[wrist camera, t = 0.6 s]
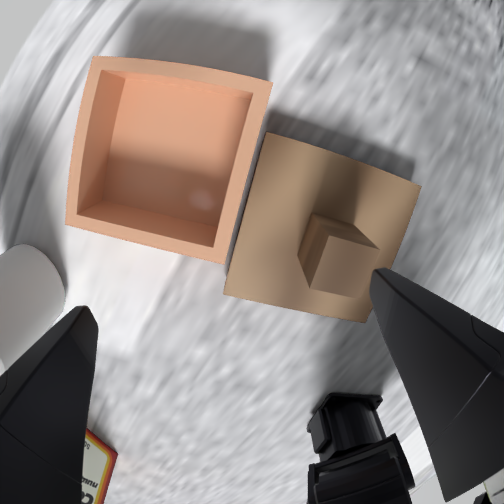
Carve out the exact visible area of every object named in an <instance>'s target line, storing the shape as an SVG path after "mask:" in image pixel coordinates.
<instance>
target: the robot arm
mask: <svg viewBox="0 0 504 504" xmlns="http://www.w3.org/2000/svg"><path fill="white" fill-rule="evenodd" d="M369 296H370V299H371V302H372V305H373V308H374V311H375V314H376V317H377V320H378V323H379V326H380V329H381V332H382V335H383V337H384V340H385V342H386V344H387V346H388V349H389V351H390V353H391V356H392V358H393V360H394V362H395V365H396V367H397V369H398V372H399V374H400V376H401V379H402V381H403V384H404V386H405V389H406V391H407V393H408V396H409V398H410V401H411V404H412V406H413V409H414V411H415V414H416V416H417V419H418V422H419V424H420V427H421V430H422V433H423V435H424V438H425V441H426V444H427V447H429V448H428V450H429V453H430V456H431V459H432V462H433V465H434V468H435V471H436V474H437V477H438V480H439V483H440V487H441V490H442V494H443V497H444V500H445V502H448V501H450V500H452V499H454V498H456V497H458V496H460V495H461V494H463V493H465V492H467V491H469V490H470V489H472V488H474V487H475V486H477V485H479V484H481V483H482V482H483V483H484V486H485V489H486V492H484V493H482V494H481V495H480V496H478V497H476V498H475V501H474V504H504V332H502V331H500V330H498V329H496V328H494V327H492V326H490V325H489V324H487V323H485V322H483V321H481V320H480V319H478V318H476V317H475V316H473V315H470V314H469V313H468V312H466V311H464V310H462V309H461V308H459V307H457V306H455V305H454V304H452V303H450V302H448V301H447V300H445V299H443V298H441V297H439V296H438V295H436V294H434V293H432V292H430V291H429V290H427V289H425V288H423V287H421V286H420V285H418V284H416V283H414V282H412V281H410V280H408V279H407V278H405V277H403V276H401V275H399V274H397V273H395V272H394V271H392V270H390V269H388V268H386V267H383V268H377V269H374V270H373V271H372V275H371V281H370V287H369ZM97 340H98V324H97V322H96V320H95V318H94V316H93V315H92V313H91V311H90V309H89V307H88V306H85V305H84V306H76V307H75V308H73V309H72V310H71V311H70V312H69V313H68V314H66V315H65V316H64V317H63V318H62V319H61V320H60V321H59V322H57V323H56V324H55V325H54V326H53V327H52V328H51V329H50V330H48V331H47V332H46V333H45V334H44V335H43V336H42V337H41V338H40V339H39V340H37V341H36V342H35V343H34V344H33V345H32V346H31V347H30V348H29V349H28V350H27V351H26V352H25V353H24V354H23V355H21V356H20V357H19V358H18V359H17V360H16V361H15V362H14V363H13V364H12V365H11V366H10V367H9V368H8V370H6V371H5V372H4V373H3V374H2V375H1V376H0V504H82V476H83V459H84V447H85V437H86V427H87V419H88V411H89V404H90V397H91V391H92V384H93V378H94V372H95V363H96V351H97ZM382 401H383V399H382V397H381V396H375V395H355V394H341V393H331V394H329V395H328V396H327V398H326V399H325V401H324V402H323V404H322V405H321V407H320V409H319V410H318V411H317V412H316V414H315V415H314V417H313V418H312V420H311V421H310V423H309V425H308V427H307V432H308V433H311V436H312V442H313V447H314V452H315V453H316V454H319V457H320V462H319V463H316V464H315V463H313V464H310V465H309V471H308V499H307V504H412V501H411V498H410V495H409V492H408V490H410V489H412V488H414V487H415V483H414V479H413V476H412V473H411V470H410V467H409V464H408V461H407V459H406V457H405V454H404V452H403V450H402V447H401V445H400V443H399V440H398V438H397V436H396V433H394V434H392V435H390V436H389V437H387V438H386V435H385V432H384V429H383V427H382V424H381V422H380V419H379V416H378V414H377V411H376V409H377V408H378V406H379V405H380V404H381V402H382Z"/></svg>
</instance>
